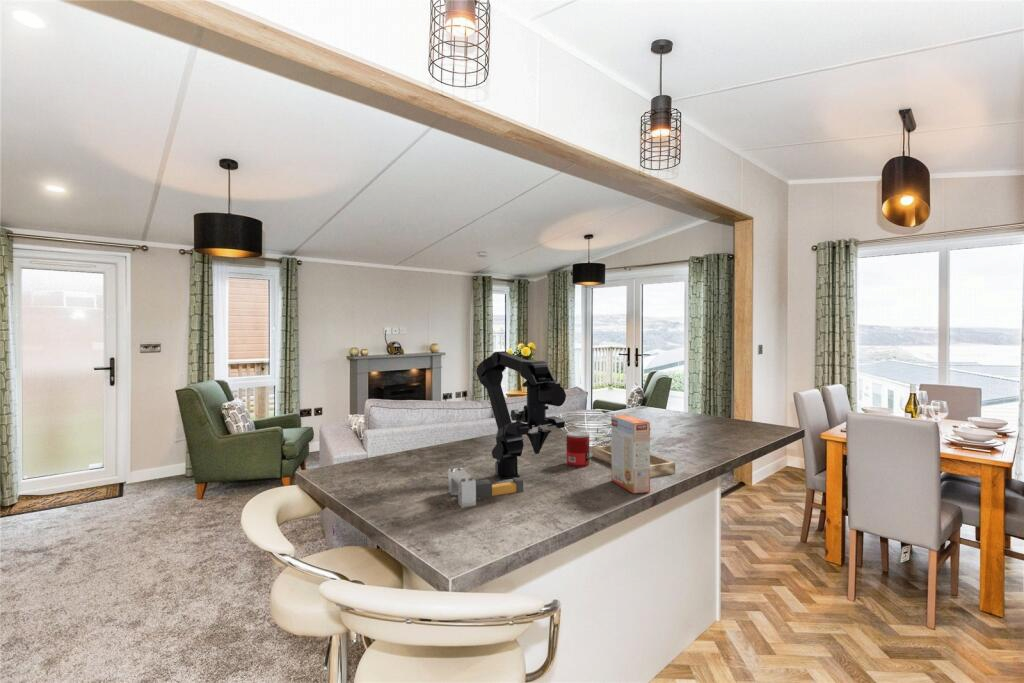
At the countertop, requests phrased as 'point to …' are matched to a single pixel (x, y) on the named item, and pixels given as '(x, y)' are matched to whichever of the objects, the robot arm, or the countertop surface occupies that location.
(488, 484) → the plug
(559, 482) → the countertop surface
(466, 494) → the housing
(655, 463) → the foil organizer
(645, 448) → the cracker box
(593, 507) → the countertop surface
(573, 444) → the canned food
